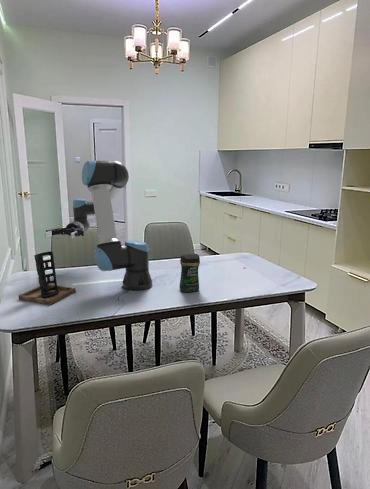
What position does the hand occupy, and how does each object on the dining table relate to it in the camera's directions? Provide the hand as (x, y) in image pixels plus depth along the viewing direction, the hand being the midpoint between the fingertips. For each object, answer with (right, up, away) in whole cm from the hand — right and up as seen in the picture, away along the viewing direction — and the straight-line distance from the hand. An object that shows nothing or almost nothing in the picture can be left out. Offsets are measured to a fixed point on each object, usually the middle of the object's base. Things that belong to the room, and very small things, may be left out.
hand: (58, 235), depth 185 cm
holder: (-2, -28, -10) cm, 30 cm away
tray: (-1, -29, -10) cm, 30 cm away
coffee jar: (+66, -27, 0) cm, 71 cm away
